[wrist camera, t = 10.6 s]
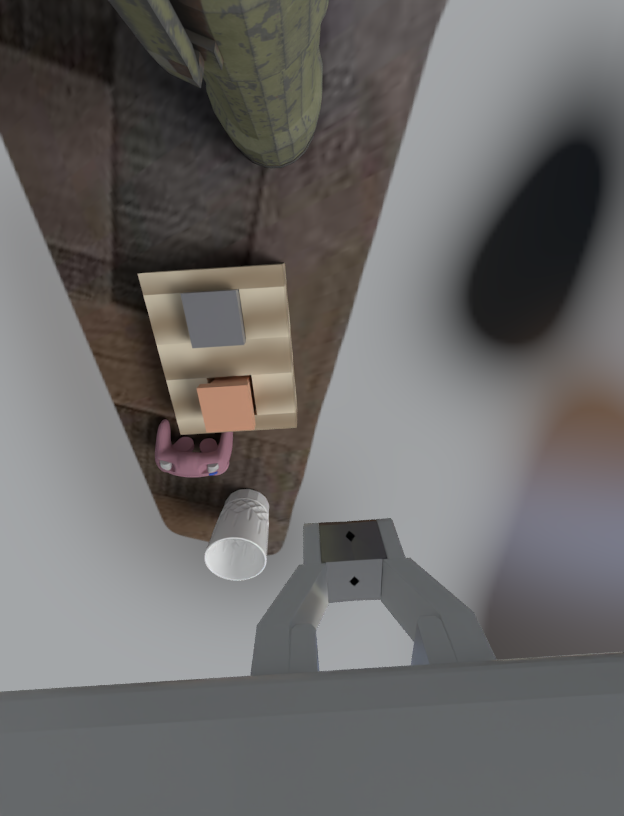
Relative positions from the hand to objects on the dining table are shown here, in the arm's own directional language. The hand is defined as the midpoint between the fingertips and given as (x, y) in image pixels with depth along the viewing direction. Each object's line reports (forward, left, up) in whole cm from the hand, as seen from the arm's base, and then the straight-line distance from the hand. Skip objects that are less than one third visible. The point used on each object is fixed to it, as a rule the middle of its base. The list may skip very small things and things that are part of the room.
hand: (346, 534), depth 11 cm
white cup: (+26, -12, -31) cm, 42 cm away
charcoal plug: (-4, -10, -31) cm, 32 cm away
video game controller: (+13, -17, -31) cm, 38 cm away
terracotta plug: (+5, -10, -29) cm, 32 cm away
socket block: (+1, -10, -31) cm, 33 cm away
